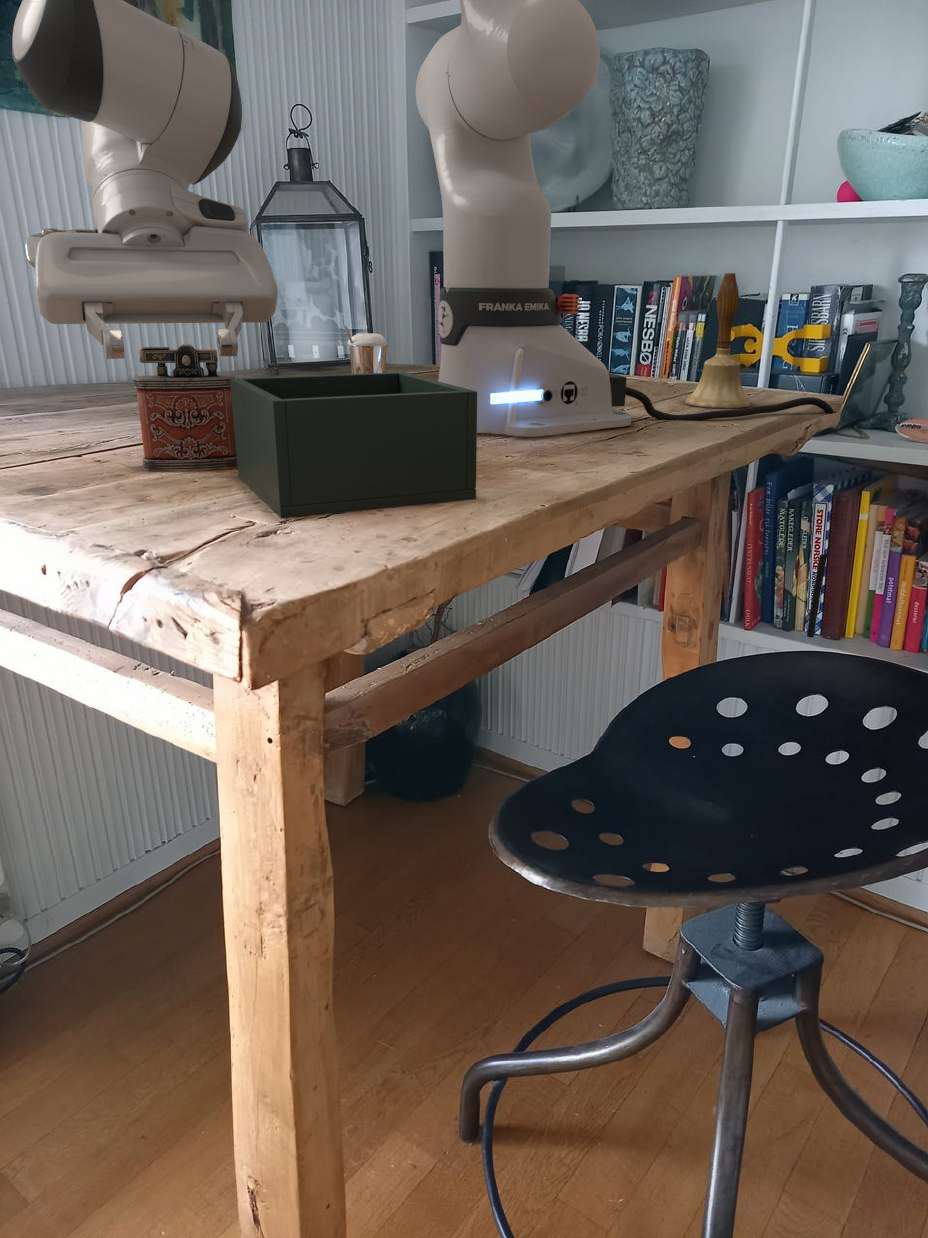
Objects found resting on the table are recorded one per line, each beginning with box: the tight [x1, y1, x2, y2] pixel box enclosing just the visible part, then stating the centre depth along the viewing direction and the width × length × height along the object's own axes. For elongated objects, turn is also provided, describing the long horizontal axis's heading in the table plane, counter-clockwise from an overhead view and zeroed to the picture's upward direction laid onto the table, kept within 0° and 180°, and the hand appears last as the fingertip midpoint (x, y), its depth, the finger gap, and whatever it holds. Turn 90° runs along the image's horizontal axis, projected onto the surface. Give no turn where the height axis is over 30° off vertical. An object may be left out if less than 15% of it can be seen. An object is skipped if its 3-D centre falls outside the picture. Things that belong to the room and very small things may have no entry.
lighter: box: [132, 343, 238, 472], centre depth 75 cm, size 8×3×10 cm, turn 102°
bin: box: [230, 371, 478, 519], centre depth 69 cm, size 15×15×8 cm
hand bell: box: [684, 272, 752, 409], centre depth 115 cm, size 8×8×16 cm
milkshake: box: [344, 325, 388, 374], centre depth 106 cm, size 4×5×10 cm
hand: (173, 352), depth 77 cm, fingers open, 8 cm apart
